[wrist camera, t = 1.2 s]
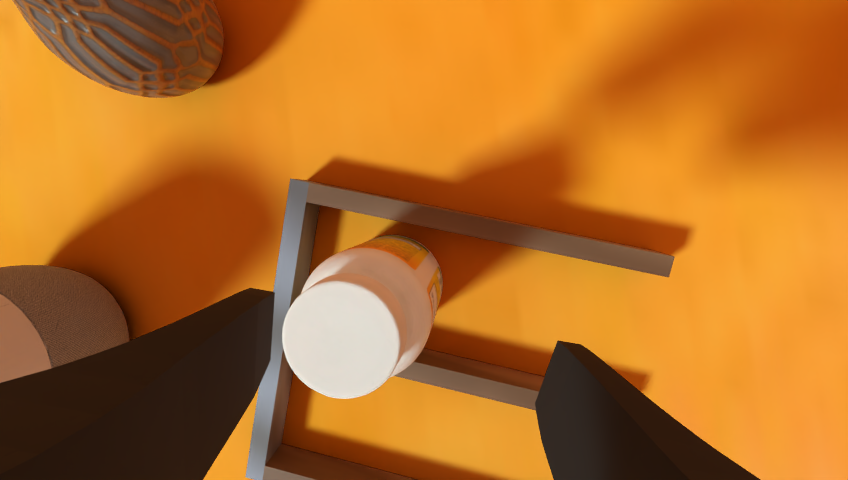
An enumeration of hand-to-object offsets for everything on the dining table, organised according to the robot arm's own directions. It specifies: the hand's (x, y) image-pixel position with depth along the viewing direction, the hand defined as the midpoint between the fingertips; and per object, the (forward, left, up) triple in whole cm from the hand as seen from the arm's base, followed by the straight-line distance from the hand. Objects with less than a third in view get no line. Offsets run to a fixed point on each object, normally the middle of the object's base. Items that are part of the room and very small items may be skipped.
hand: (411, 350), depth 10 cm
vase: (+9, +16, -12) cm, 22 cm away
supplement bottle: (-1, +2, -12) cm, 12 cm away
